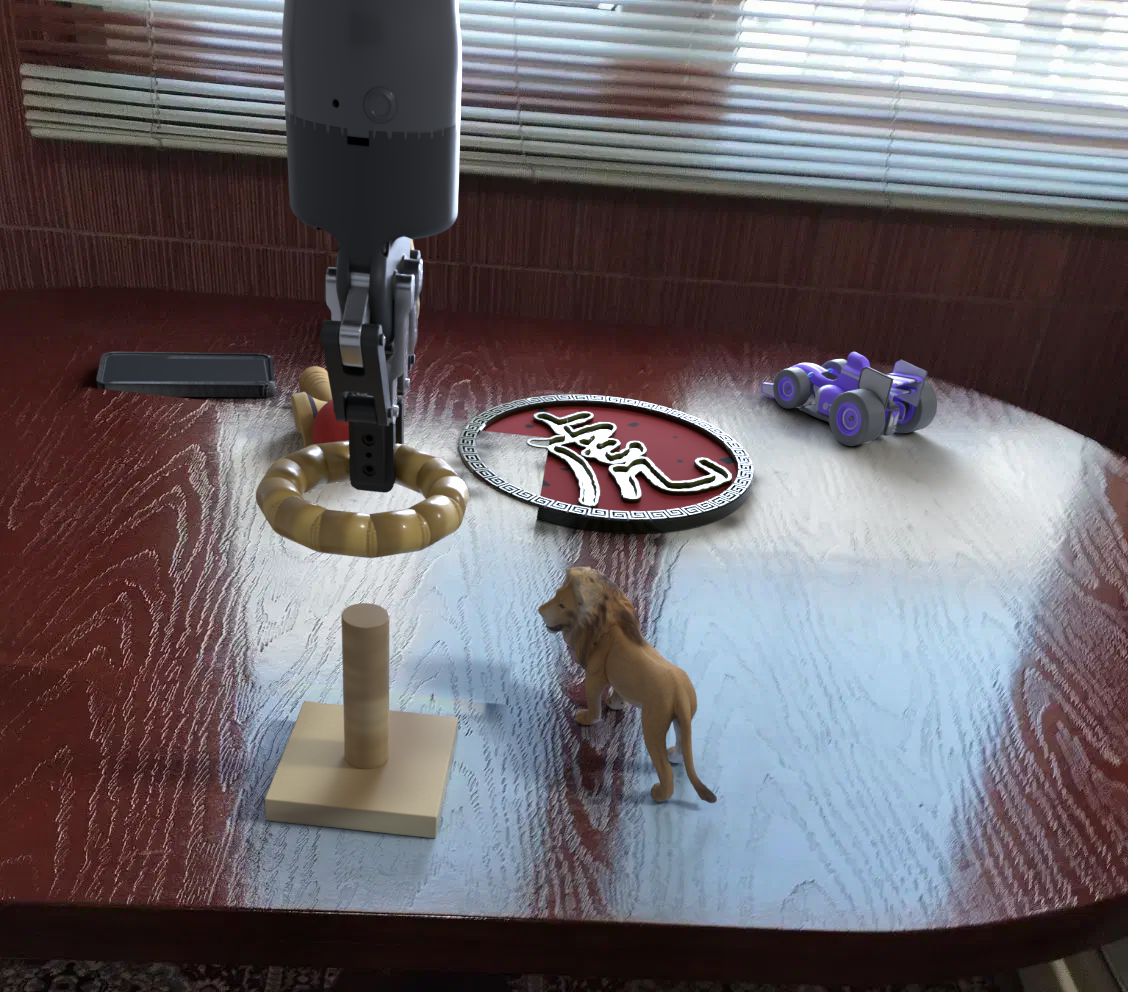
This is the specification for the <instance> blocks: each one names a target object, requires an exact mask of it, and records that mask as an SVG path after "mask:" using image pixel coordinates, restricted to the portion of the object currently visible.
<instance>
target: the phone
mask: <svg viewBox="0 0 1128 992" xmlns="http://www.w3.org/2000/svg"><path fill="white" fill-rule="evenodd" d="M274 366H275V365H274V358H273V356H272V355H270V354H267V353H257V352H255V353H254V352H253V353H250V352H249V353H248V352H247V353H246V352H180V351H179V352H178V351H177V352H175V351H174V352H172V351H171V352H170V351H169V352H168V351H107V352H104V353H103V354H101V356H100V360H99V365H98V370H97V374H96V386H97V389H99V390H107V391H117V392H125V393H126V392H127V393H134V394H144V395H152V396H153V395H154V396H162V397H170V398H269V397H272V396H274V395H275V394H276V379H275V367H274Z"/></svg>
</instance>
